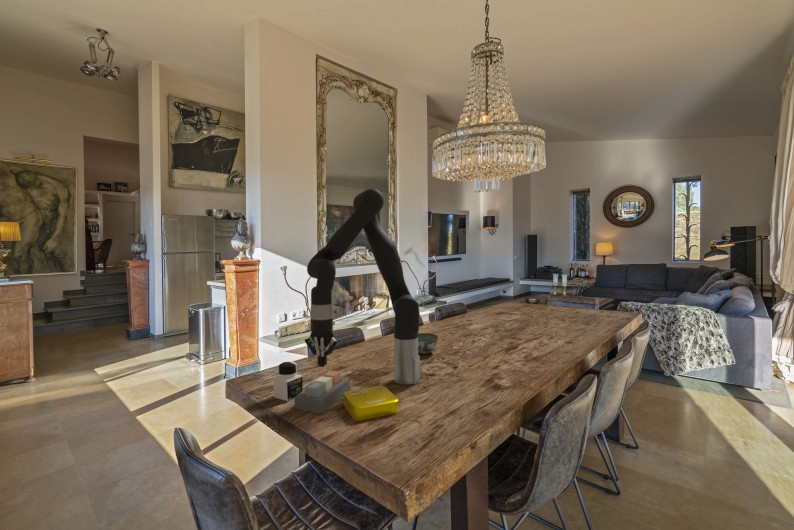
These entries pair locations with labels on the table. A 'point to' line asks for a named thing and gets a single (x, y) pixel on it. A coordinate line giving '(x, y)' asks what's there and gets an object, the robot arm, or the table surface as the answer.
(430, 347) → the bowl
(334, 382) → the terracotta key
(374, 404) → the element tile
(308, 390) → the slate key
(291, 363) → the medicine bottle
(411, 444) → the table surface
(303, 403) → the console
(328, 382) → the ivory key
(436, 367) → the table surface
